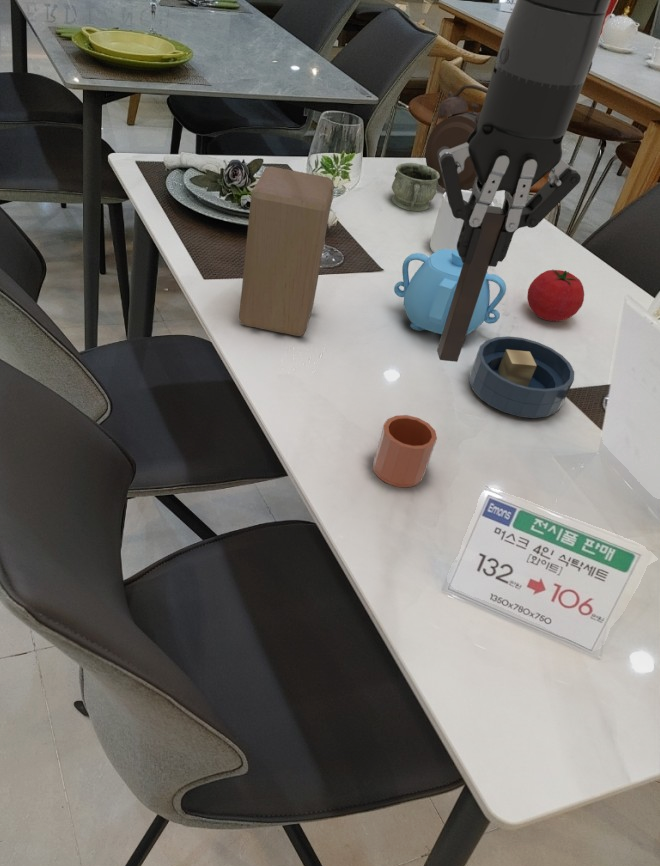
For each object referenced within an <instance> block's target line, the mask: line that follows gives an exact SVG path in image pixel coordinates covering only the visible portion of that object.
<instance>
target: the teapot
mask: <svg viewBox="0 0 660 866" xmlns="http://www.w3.org/2000/svg"><path fill="white" fill-rule="evenodd" d="M412 261H420V262H422V264H421V265H420V266H419V268H418V269H417V270H416V272H415V273H414V274H413V276H412V277H411V279H410V275H409V266H410V263H411V262H412ZM462 266H463V263H462V260H461V257H460V256H459V254H458V251H457V249H454V250H451V249H441V250H438V251H436V252H432V254H431V255H429V256H428V255H426V254H425V253H422V252H414V253H411V254H409V255H408V256H407V257H405V259H404V261H403V263H402V266H401V267H402V269H401V270H402V281H397V282H396V283H395V285H394V286H393V292H394V294H395V295H396V296H398V297H399V298H403V308H404V311H405V313H406V316H407V318H408V320H409V322H411V323H410V328H411V329H413V330H415V331H420V332H422V331H424V330H425V331H427V332H428V331H429V332H432V333H435V334H437V335H438V334H439V335H442V332H443V329H444V325H445V322H446V319H447V316H448V312H449V309H450V306H451V302H452V299H453V296H454V293H455V289H456V286H457V283H458V279H459V276H460V273H461V269H462ZM490 282H492V283H495V284H496V285H497V286H498V287H499V291H498V294H497V295H496V297H495V298H494V299H493V301H492V302H491V303H490V300H491V287H490ZM400 287H403V290H402V289H400ZM506 291H507V285H506V282H505V280H504V279H503V278H502V277H501V276H499V275H497V274H494V273H488V272H487V273H486V276H485V279H484V282H483V285H482V288H481V291H480V294H479V297H478V300H477V303H476V306H475V309H474V312H473V315H472V318H471V322H470V325H469V328H468V331H467V334H466V336H467V335H469V334H470V333H473V332H474V331H475V330H476V329H478V328H479V327H481V325H482V324H483V322H485V323H486V324H489V325H491V324H496V323H497V322H498V320H499V319H500V312H499V311H498V309H495V308H496V307H497V306H498V305H499V304H500V302H501V301H502V300H503V298H504V297H505V294H506ZM491 314H492V315H493V317H492V316H490V315H491Z"/></svg>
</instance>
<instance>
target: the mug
mask: <svg viewBox="0 0 660 866" xmlns="http://www.w3.org/2000/svg"><path fill="white" fill-rule="evenodd" d="M461 191H462V196H463V200H465V201H466V202H468V201H469V199H470V196H471V193H472V190H461ZM489 206H495V202H494V200H493V201H492V203H491V204H490V205H489ZM495 207H496V206H495ZM463 222H464V220H462V219H461V218H459V219H457V218H455V217H454V216H453V214H452V210H451V208H450V206H449V202H448V198H447V194H446V191H444V193H443V195H442V198H441V202H440V205H439V209H438V213H437V217H436V220H435V223H434V228H433V231H432V234H431V238H430V241H429V247H430V250H431V252H432V253H434V252H436V251H438V250H441V249H451V250H454V249H457V242H458V239H459V236H460V232H461V229H462V226H463Z"/></svg>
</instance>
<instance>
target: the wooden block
mask: <svg viewBox="0 0 660 866" xmlns="http://www.w3.org/2000/svg"><path fill="white" fill-rule="evenodd" d="M334 183H335V182H334V180H333V179H331V178H330V177H328V176H323V175H318V174H314V173H307V172H303V171H297V170H292V169H287V168H282V167H277V166H271V165H270V166H266V167H265V168H264V169H263V171H262V173H261V175H260V177H259V178H258V180H257V183H255V186H254V188H253V190H252V191H251V193H250V194H251V195H250V205H249V213H248V214H249V215H248V225H247V235H246V243H245V244H246V245H245V252H244V262H243V264H244V265H243V272H242V282H241V283H242V284H241V292H240V302H239V304H240V305H239V312H238V319H239V323H240V324H241V325H243V326H245V327H251V328H256V329H261V330H266V331H272V332H275V333H280V334H286V335H291V336H295V337H301V336H303V335H304V334H305V332H306V331H307V328H308V325H309V321H310V318H311V314H312V311H313V307H314V304H315V297H316V292H317V286H318V282H319V281H318V280H319V275H320V269H321V264H322V259H323V258H322V257H323V252H324V247H325V241H326V235H327V231H328V230H327V229H328V223H329V218H330V212H331V206H332V200H333V194H334V191H335V184H334Z"/></svg>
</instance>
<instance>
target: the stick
mask: <svg viewBox="0 0 660 866" xmlns="http://www.w3.org/2000/svg"><path fill="white" fill-rule="evenodd" d="M504 218H505V214H504V212H503V210H502V207H501V206H488V208H487V211H486V213H485V216H484V218H483V220H482V223H481V224H480V227H481V228H482V230H481V233H480V236H479V239H478V242H477V245H476V248H475V251H474V255H473V258H472V261H471V263H470V264H468V263H463V266H462V269H461V273H460V276H459V279H458V283H457V286H456V289H455V293H454V296H453V299H452V302H451V306H450V309H449V312H448V316H447V319H446V322H445V325H444V329H443V332H442V334H440V335H441V336H440V339H439V342H438V346H437V349H436V352H437V356H438V359H439V360H440V361H447V362H456V363H457V362H458V361H459V358H460V355H461V352H462V349H463V346H464V342H465V340H466V336H467V335H468V334H467V331H468V328H469V325H470V322H471V318H472V315H473V312H474V309H475V306H476V303H477V300H478V297H479V294H480V291H481V288H482V285H483V282H484V279H485V276H486V273H488V269H489V267H490V266H489V263H490V260H491V257H492V254H493V251H494V248H495V245H496V241H497V238H498V235H499V232H500V230H501V227H502V224H503V221H504ZM466 334H467V335H466Z"/></svg>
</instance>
